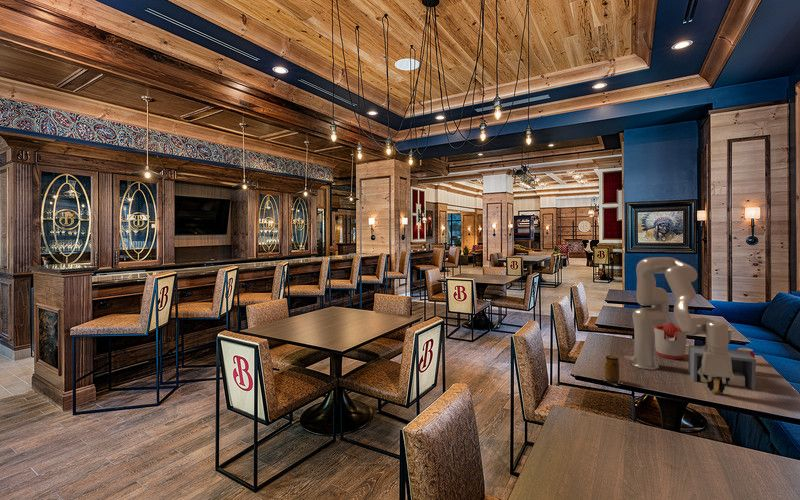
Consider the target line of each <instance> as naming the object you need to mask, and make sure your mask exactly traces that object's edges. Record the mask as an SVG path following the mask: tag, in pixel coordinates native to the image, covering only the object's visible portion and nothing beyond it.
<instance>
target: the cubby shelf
mask: <svg viewBox="0 0 800 500" xmlns="http://www.w3.org/2000/svg"><path fill="white" fill-rule="evenodd" d="M702 346H703V345H691V344H689V345H688V364H687V365H688V371H687V372H688V375H690V378H691V379H692V381H693V382H695V383H697V381H698V373H697V371H698V370H699V368H701V363H702V356H703V352H704V351H706V350H705V349H702ZM728 354H730V356H731V362H732V371H733V372H741V373H742V374H743V375H744V376H745V385H747V386H748V388H750V389H751V391H756V377H757V376H756V375H757V373H756V370H757V369H756V368H757V365H756V364H757V359H756V357H755V358H753V357H752V356H751V355H750V354H749V353H748V352H746V351H740V350H738V349H729V348H728ZM718 378H720V380H721V377H718Z"/></svg>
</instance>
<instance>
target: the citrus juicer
mask: <svg viewBox="0 0 800 500" xmlns="http://www.w3.org/2000/svg"><path fill="white" fill-rule="evenodd" d="M653 327H654V328H653V330H654V332H655V352H656V353H657V355H658V356H659V357H662V358H665V359H670V360H681V359H683V358H684V355H685V352H686V350H687V349H686V348H687V334H685V333H683V332H682V331H681V329H680V328H679V326H678V325H674V324H673V323H672V322H668V323H667V324H661V325H653Z"/></svg>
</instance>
